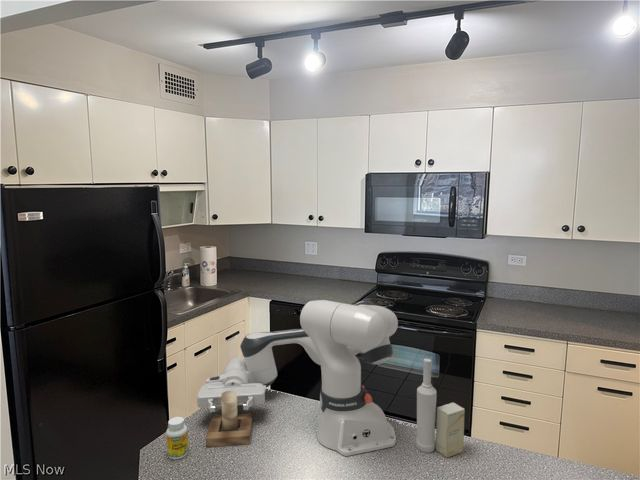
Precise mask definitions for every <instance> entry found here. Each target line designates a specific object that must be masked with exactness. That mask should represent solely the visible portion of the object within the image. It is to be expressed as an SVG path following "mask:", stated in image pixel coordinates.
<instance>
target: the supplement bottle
mask: <svg viewBox="0 0 640 480" xmlns="http://www.w3.org/2000/svg"><path fill="white" fill-rule="evenodd" d="M167 424H168V425H167V429H166V431H165V432H166V434H165V435H166V447H167V457H168V458H169V459H171V460H180V459H182V458H184V457H186V456H187V455H188V453H189V452H190V451H189V435H188V434H189V433H188V427H187V425H186V424H185V418H184V417H182V416H174V417H172V418H170V419H169V420H168V422H167Z"/></svg>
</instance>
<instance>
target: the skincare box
mask: <svg viewBox="0 0 640 480" xmlns="http://www.w3.org/2000/svg"><path fill="white" fill-rule="evenodd" d="M465 413H466V411H465V408H464V407H462V406H460V405H459V404H457V403H455V402H450V403H446V404H444V405H440V406H438V407H437V406H436V421H435V450H436V451H438V452H439V453H440V454H441V455H442V456H444V457H445V458H449V457H453V456H455V455H458V454H460V453H462V452H464V443H465V442H464V439H465V436H464V435H465Z"/></svg>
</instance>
